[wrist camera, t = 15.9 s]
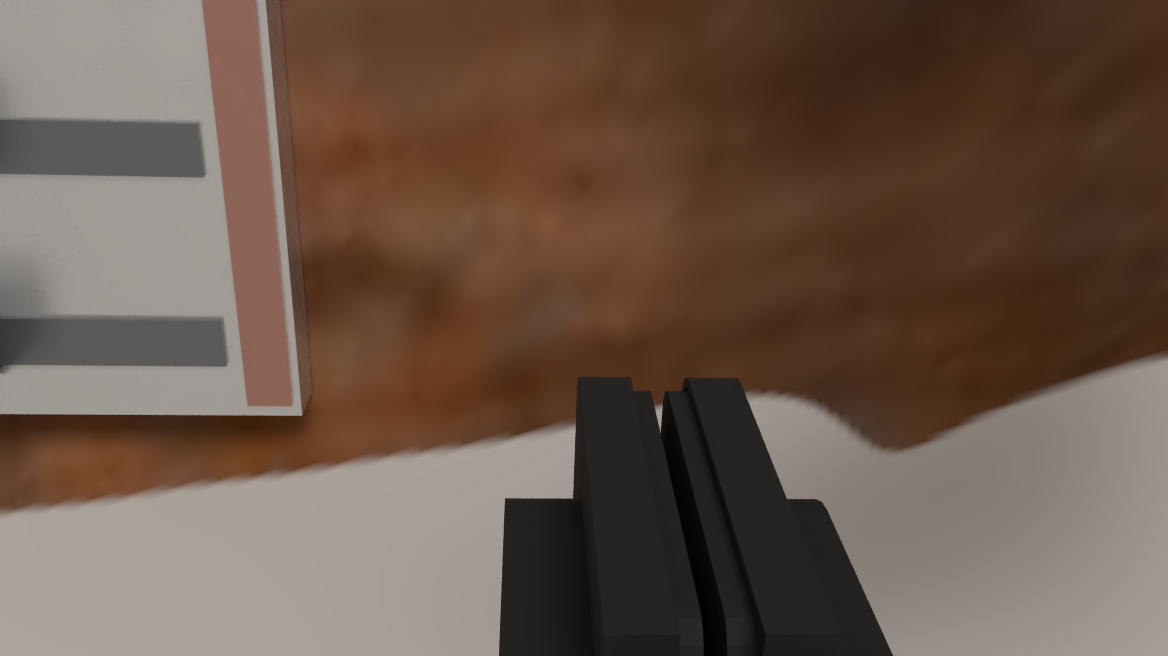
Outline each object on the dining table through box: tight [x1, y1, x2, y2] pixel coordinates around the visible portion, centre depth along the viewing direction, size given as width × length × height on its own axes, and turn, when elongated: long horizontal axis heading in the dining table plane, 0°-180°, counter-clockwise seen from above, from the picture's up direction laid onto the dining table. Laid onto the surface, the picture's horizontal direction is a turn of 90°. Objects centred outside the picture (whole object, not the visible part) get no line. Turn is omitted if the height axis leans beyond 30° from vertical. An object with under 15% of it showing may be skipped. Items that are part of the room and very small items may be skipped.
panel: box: [0, 0, 312, 416], centre depth 35 cm, size 20×17×2 cm
